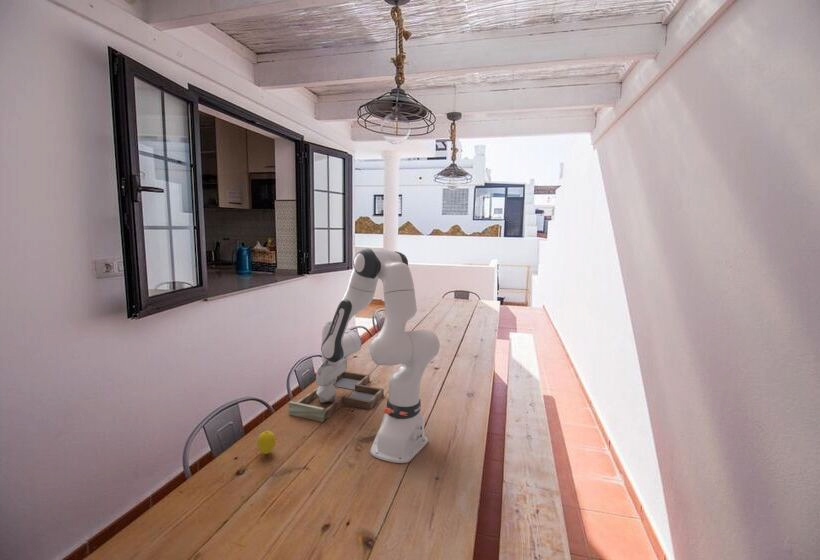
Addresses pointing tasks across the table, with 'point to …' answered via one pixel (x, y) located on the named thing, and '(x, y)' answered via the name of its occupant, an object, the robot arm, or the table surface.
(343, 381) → the end trap mat
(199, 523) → the table surface
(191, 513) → the table surface
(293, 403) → the box
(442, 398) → the table surface
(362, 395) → the side trap mat
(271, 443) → the lemon
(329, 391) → the die
